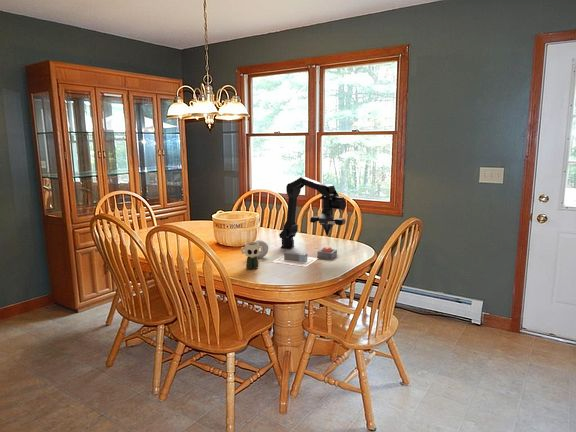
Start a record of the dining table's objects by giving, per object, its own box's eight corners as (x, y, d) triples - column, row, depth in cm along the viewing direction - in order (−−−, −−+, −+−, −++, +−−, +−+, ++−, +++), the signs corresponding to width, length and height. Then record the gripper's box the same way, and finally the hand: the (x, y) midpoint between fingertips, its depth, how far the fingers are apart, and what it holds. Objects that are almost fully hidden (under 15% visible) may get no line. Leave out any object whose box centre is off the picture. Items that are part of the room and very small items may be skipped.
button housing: (317, 257, 235) (317, 251, 234) (322, 253, 242) (322, 248, 242) (331, 259, 231) (331, 253, 231) (336, 255, 239) (337, 249, 238)
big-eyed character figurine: (242, 270, 212) (241, 245, 210) (241, 266, 219) (240, 242, 217) (263, 269, 214) (263, 244, 212) (262, 265, 221) (261, 241, 219)
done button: (321, 254, 236) (321, 248, 235) (324, 252, 240) (324, 246, 239) (329, 255, 234) (329, 249, 233) (332, 253, 238) (332, 247, 237)
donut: (268, 256, 238) (268, 239, 236) (268, 258, 234) (268, 240, 233) (250, 257, 236) (249, 239, 234) (250, 259, 233) (250, 241, 231)
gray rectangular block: (284, 259, 231) (283, 252, 230) (287, 257, 234) (287, 250, 234) (304, 262, 226) (304, 255, 225) (307, 260, 229) (307, 253, 228)
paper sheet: (271, 262, 227) (271, 261, 227) (285, 254, 242) (285, 254, 242) (306, 266, 218) (306, 266, 218) (318, 258, 233) (318, 258, 233)
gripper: (306, 208, 229) (306, 237, 232) (339, 211, 221) (338, 240, 224) (314, 205, 239) (313, 233, 242) (346, 208, 231) (345, 236, 234)
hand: (327, 235), depth 235 cm, fingers closed
